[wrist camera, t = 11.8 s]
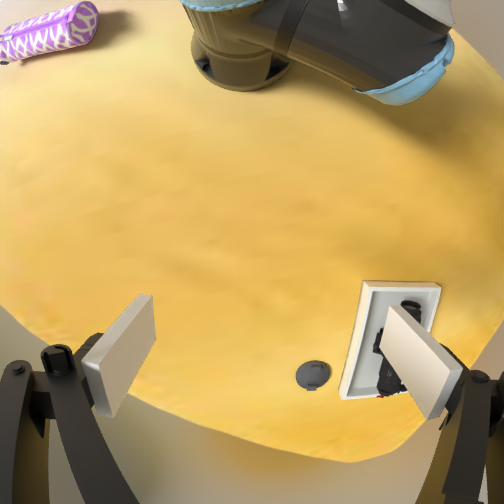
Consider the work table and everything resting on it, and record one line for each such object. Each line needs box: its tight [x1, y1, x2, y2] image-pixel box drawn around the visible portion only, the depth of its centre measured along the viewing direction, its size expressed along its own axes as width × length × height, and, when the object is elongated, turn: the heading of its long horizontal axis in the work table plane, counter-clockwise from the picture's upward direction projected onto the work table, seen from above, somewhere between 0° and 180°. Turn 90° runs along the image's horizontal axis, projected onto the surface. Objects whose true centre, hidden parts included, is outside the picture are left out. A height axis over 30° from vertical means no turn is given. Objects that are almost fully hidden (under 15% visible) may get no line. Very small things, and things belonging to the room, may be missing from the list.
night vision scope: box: [373, 300, 422, 398], centre depth 44 cm, size 8×18×10 cm
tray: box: [338, 280, 442, 400], centre depth 46 cm, size 22×14×3 cm, turn 177°
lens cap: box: [296, 361, 330, 391], centre depth 49 cm, size 6×6×2 cm
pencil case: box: [0, 1, 99, 65], centre depth 30 cm, size 22×9×10 cm, turn 82°
